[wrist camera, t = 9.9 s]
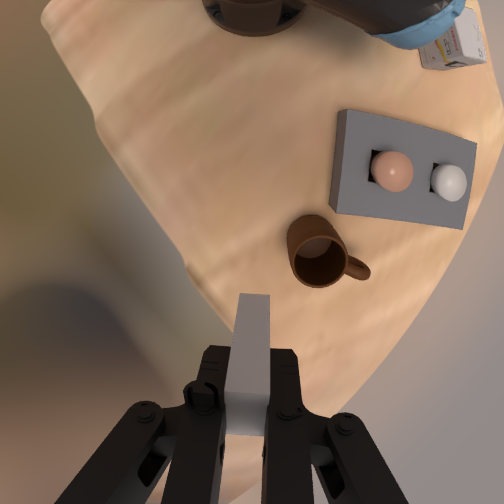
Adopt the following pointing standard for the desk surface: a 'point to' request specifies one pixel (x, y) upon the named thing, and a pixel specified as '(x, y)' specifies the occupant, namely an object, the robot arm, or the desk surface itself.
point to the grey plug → (448, 182)
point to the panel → (422, 157)
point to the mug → (320, 254)
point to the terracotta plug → (391, 170)
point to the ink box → (456, 45)
